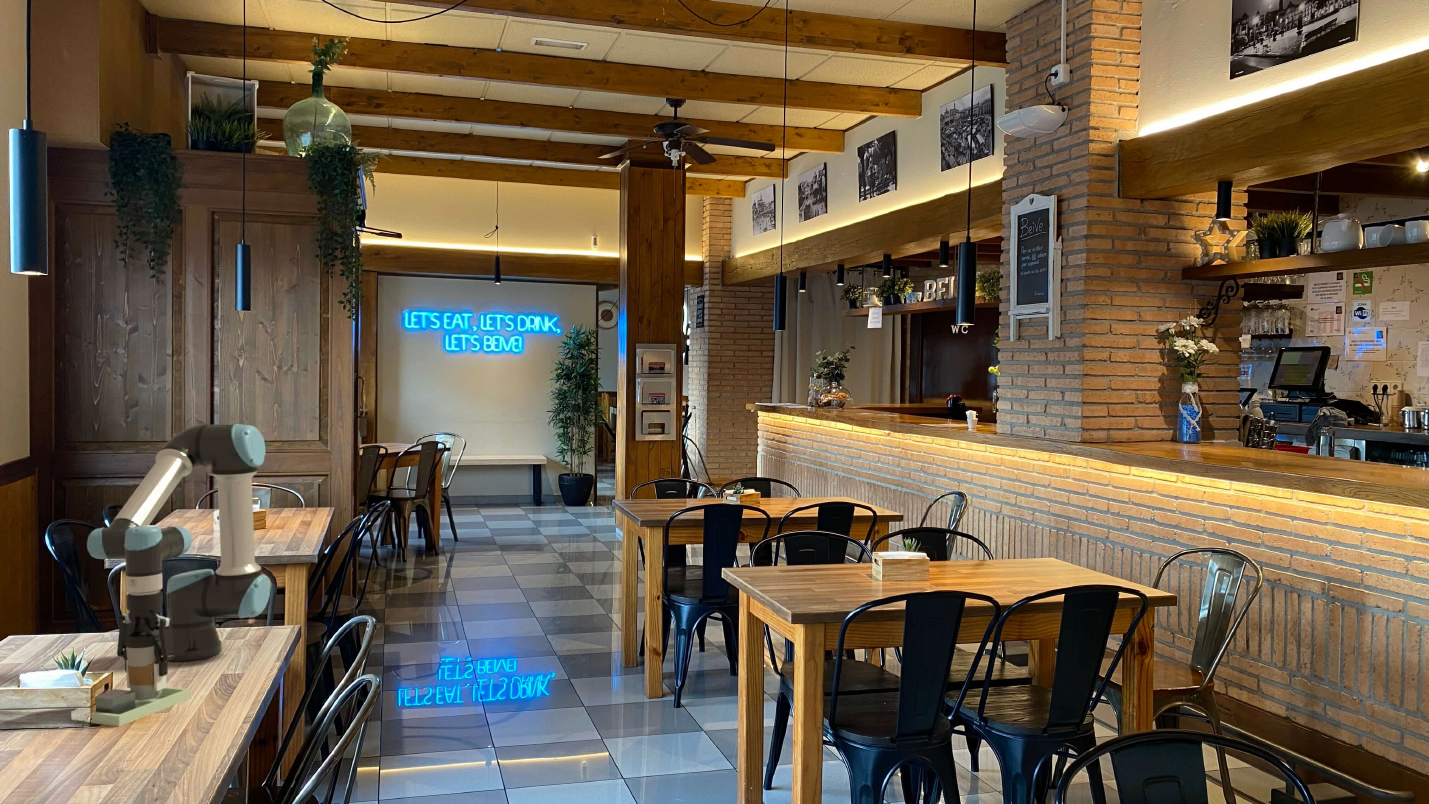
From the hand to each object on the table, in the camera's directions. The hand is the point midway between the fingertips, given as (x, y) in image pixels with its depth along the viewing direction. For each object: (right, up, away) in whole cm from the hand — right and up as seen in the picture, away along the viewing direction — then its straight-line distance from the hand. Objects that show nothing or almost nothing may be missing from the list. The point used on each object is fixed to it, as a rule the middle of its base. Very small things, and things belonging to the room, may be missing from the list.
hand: (146, 687), depth 240 cm
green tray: (-1, -5, -4) cm, 6 cm away
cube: (-3, -4, -9) cm, 10 cm away
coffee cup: (0, -2, 0) cm, 2 cm away
